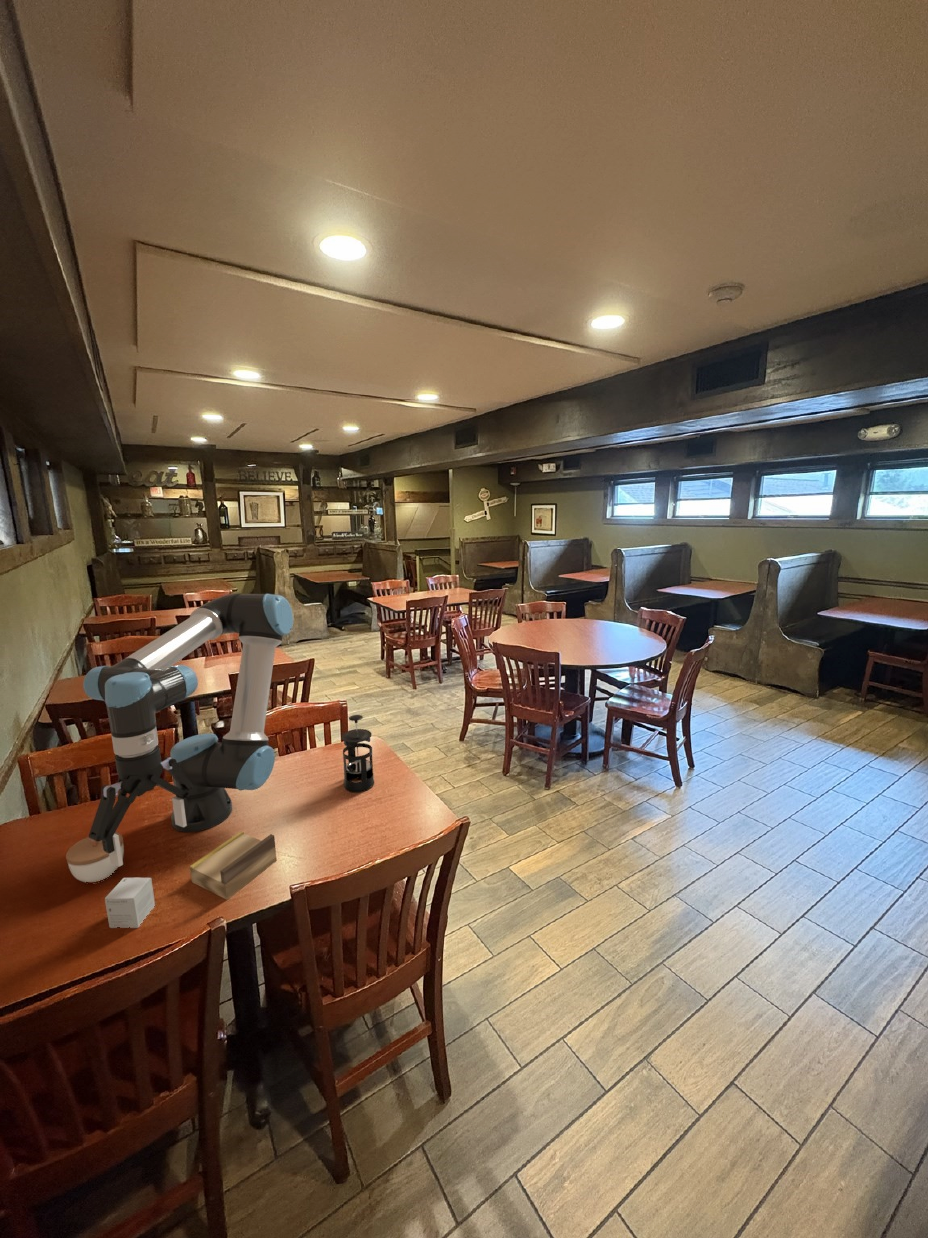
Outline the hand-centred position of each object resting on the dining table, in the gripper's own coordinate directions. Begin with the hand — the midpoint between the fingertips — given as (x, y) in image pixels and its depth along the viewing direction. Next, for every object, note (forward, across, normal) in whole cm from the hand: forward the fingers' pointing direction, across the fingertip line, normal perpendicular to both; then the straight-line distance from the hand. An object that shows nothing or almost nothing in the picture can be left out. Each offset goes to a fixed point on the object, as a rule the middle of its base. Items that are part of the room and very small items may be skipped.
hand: (150, 843), depth 102 cm
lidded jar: (+16, +1, +23) cm, 28 cm away
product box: (+16, -4, +3) cm, 17 cm away
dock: (+16, +15, -5) cm, 22 cm away
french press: (+16, +59, -9) cm, 62 cm away
